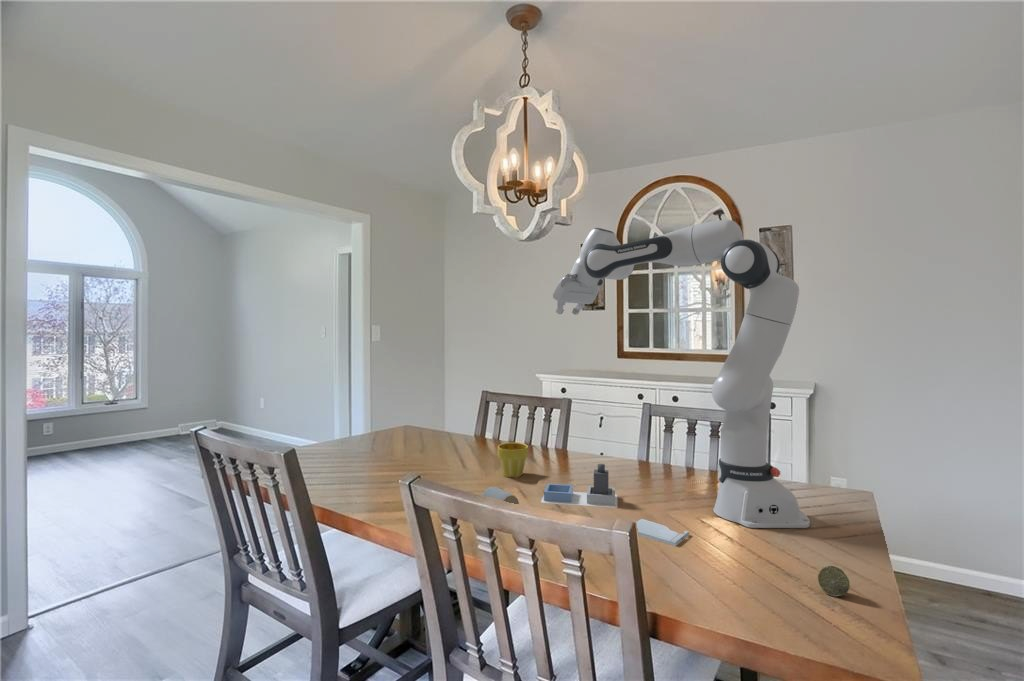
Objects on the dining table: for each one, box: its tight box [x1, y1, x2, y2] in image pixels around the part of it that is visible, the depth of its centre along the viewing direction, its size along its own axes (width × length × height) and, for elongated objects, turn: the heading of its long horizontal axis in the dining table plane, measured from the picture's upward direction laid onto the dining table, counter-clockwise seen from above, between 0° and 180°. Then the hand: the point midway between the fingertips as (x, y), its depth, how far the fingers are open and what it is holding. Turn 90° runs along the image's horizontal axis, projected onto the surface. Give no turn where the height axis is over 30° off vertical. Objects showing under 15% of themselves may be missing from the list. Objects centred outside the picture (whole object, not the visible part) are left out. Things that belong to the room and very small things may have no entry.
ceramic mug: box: [481, 486, 520, 505], centre depth 133 cm, size 11×8×8 cm
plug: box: [593, 463, 609, 495], centre depth 143 cm, size 4×4×10 cm
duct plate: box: [540, 483, 618, 509], centre depth 145 cm, size 21×11×4 cm, turn 78°
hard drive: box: [636, 518, 690, 547], centre depth 123 cm, size 2×8×12 cm
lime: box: [817, 565, 851, 597], centre depth 95 cm, size 4×5×5 cm
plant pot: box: [497, 442, 529, 478], centre depth 171 cm, size 10×10×10 cm
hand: (566, 313), depth 169 cm, fingers open, 8 cm apart
